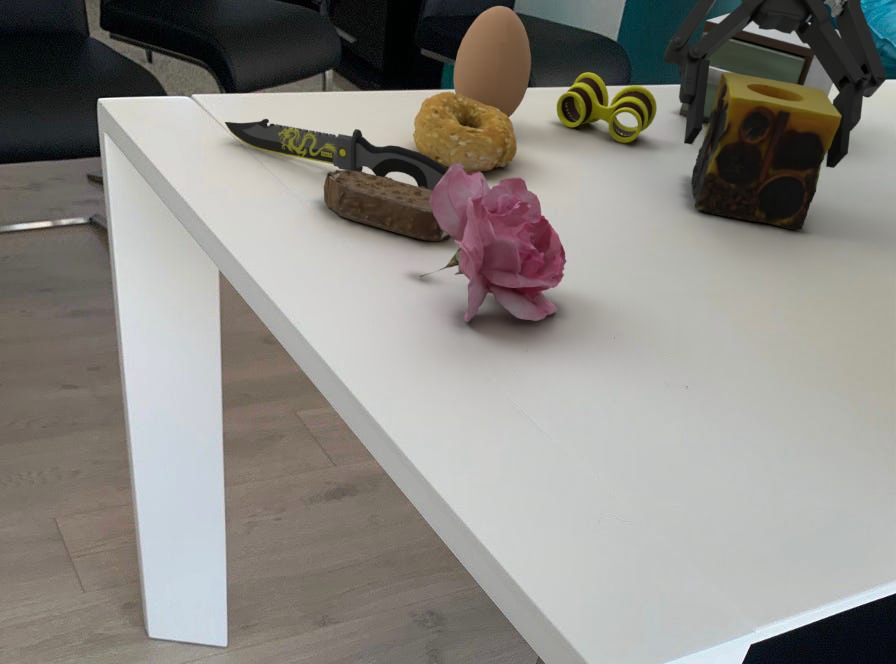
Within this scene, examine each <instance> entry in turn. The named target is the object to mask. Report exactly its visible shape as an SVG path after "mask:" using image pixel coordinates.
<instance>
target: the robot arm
mask: <svg viewBox="0 0 896 664" xmlns="http://www.w3.org/2000/svg"><path fill="white" fill-rule="evenodd" d="M716 1H717V0H697V1H696V3H695V4H694V5H693V7H692V8H691V10H690V11H689V12H688V14H687V16H686V17H685V19H684V20H683V21H682V22H681V24H680V26H679V28H678V29H677V30H676V32H675V33H674V34H673V36H672V37H671V40H670V41H669V43H668V45H667V48H666V49H665V52H664V53H663V56H662V58H663V59H662V60H663V61H664V62H665V63H666V64H669V65H672V64H675V65H677V66H678V67H679V68H678V75H679V77H680V84H679V92H678V93H679V94H678V99H679V102H680V104H682V103H685V104H689V105H688V114H687V116H686V122H685V123H686V125H685V132H684V140H683V143H684V144H686V145H693V144H694V142H695V141H696V140H697V138H698V136H699V134H700V133H701V131H702V129H703V124H704V121H703V115H704V107H705V98H706V90H707V81H708V73H709V64H710V60H707V59H708V58H709V57H710V56H711V55H712V54H713V53H715V52H716V51H717V50H718V49H719V48H720V47H722V46H723V45H724V44H725V43H726V42H727V41H728V40H730V39H731V38H732V37H733V36H734V35H735V34H737V33H738V32H741V31H742V30H743V29H744V28H745V27H746V26H748V25H749V24H750V23H751V22H752V21H753V22H754V23H755V24H757V25H759V28H758V29H764V30H771V29H775V30H778V31H780V32H782V33H787V34H791V33H792V31H795V32H796V34H797V35H798V37H799V39H800V40H801V42H802V43H804V44H808V45H809V47H810V48H811V50H812V51H813V53H814V55H815V56H816V58H817V59H818V61H819V62H820V64H821V65H822V67H823V68H824V70H825V71H826V73H827V74H828V76H829V77H830V79H831V81H832V82H833V84H832V85H834V86H835V88H836V90H837V91H838V94H837V95H836V96H834V99H833V100H832V104H833V105H834V107H835V108H836V109H837V110H838V112H839V113H840V114H841V116H842V117H841V120H840V124H839V127H838V129H837V131H836V133H835V135H834V138H833V141H832V144H831V146H830V148H829V150H828V151H827V153H826V162H825V163H826V164H825V167H826V168H831V169H834V168H835V167H836V166H837V165H838V164H840V162H841V161H842V160H843V159H844V158H845V157H846V156H847V155H848V154H849V145H850V137H851V132H852V131H853V130H854V129H855V128H856V127H857V125H859V122H860V121H861V119H862V112H863V111H862V110H863V102H864V101H863V100H864V98H871V97H873V96H874V94H875V92H877V91H878V90H879V88H880V87H881V86H882V85H883V84H884V83H885V81H886V80H887V79H888V77H887V73H886V72H887V71H886V69H885V67H884V65H883V62H882V59H881V55H880V54H879V53H880V52H879V51H878V48H877V45H876V43H875V40H874V37H873V34H872V32H871V29H870V27H869V24H868V21H867V18H866V16H865V12H864V11H863V7H862V5H861V4H862V0H740V1H741V3H740V4H739V5H738V6H737V7H736V8H735V9H733V11H731V12H730V14H729V13H728V14H729V15H728V16H727V17H726V18H724V19H723V20H722V21H721V22H720V23H719V24H717V25H716V26H715V27H714V28H713V29H712V30H711V31H709V32H708V33H707V34H706V35H705V36H704V37H702V38H701V37H700V39H699V40H697V42H695V43H694V44H692V45H691V44H688V43H689V42H690V40H691V39H692V37H693V36H694V34H695V33H696V31H697V30H698V29H699V27H700V26H701V24H702V22H703V21H704V20H705V19H706V18H707V15H708V14H709V13H710V11H711V10H712V8H713V7H714V5H715V3H716ZM824 4H825V5H824ZM826 5H828V7H830V11H831V12H830V11H829V10H828V9H827V7H826ZM831 17H832V18H835V22H836V24H835V25H836V28H837V29H836V30H838V31H839V34H840V36H839V35H838V33H837V31H836V30H835V26H834V25H833V23H832V22H831ZM811 18H812V21H811V22H810V23H811V24H810V25H809V24H808V22H809V21H810V20H811ZM840 37H841V38H840Z"/></svg>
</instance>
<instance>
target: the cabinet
mask: <svg viewBox="0 0 896 664" xmlns="http://www.w3.org/2000/svg"><path fill="white" fill-rule="evenodd" d="M730 13H731V12H730ZM730 13H727V14H723V15H720V16H717V17H713V18H710V19H707V20H705V22H704V26H703V29H702V33H701V37H700V39H701V38H702V35H703V33H705V32H709V31H711V30H712V29H713V28H714V27H715V26H716V25H717V24H719V23H720V22H721V21H722V20H723V19H724V18H726V17H727V16H728V15H729V14H730ZM807 22H808V24H809V25H810V24H811V23H812V22H809V21H807ZM758 28H759V25H757V24H755V23H754V22H753V21H752V22H751V23H750V24H749V25H748V26H746V27H745V28H744V29H743V30H742V31H741V32H738V33H737V34H735V35H734V36H733V37H734V38H738V39H741V40H745V41H749V42H752V43H756V44H760V45H763V46H767V47H771V48H774V49H778V50H782V51H785V52H789V53H793V54H796V55H800V56H804V57H805V58H804V59H805V63H804V66H803V68H802V71H801V74H800V77H799V80H798V83H797V85H802V86H807V87H811V88H816V89H821V90H823V91H824V92H825V93H826V95H827V96H828V97H829V95H830V92H831V90H832V87H833V85H834V84H833V82H832V81H831V79H830V77H829V76H828V74H827V73H826V71H825V70H824V68H823V67H822V65H821V64H820V62H819V61H818V59H817V58H816V56H815V55H814V53H813V51H812V50H811V48H810V47H809V45H808V44H804V43H802V42H801V40H800V39H799V37H798V35H797V34H796V32H795V31H792V33H791V34H787V33H782V32H780V31H778V30H775V29H771V30H764V29H758ZM835 30H836V31H837V33H838V35H839V36H840V34H839V31H838V29H835ZM840 38H841V37H840ZM682 105H683V103H681V106H680V109H679V113H678V114H679V115H680V116H681V115H682V116H686V117H687V114H688V111H687V110H683V109H682ZM709 120H710V117H706V116H703V123H707V124H708V123H709Z"/></svg>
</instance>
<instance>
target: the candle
mask: <svg viewBox="0 0 896 664" xmlns="http://www.w3.org/2000/svg"><path fill="white" fill-rule="evenodd" d="M841 117H842V116H841V114H840V113H839V112H838V110H837V109H836V108H835V107H834V105H833V102H832V101H831V100H830V98H829V95H828V96H827V95H826V93H825V92H824V91H823V90H821V89H816V88H811V87H807V86H802V85H797V84H793V83H787V82H781V81H776V80H770V79H764V78H759V77H753V76H747V75H742V74H736V73H731V72H722V75H721V78H720V82H719V85H718V89H717V92H716V96H715V100H714V103H713V107H712V111H711V114H710V120H709V123H708V122H707V125H706V130H705V133H704V137H703V140H702V143H701V146H700V148H699V149H698V154H697V156H696V158H695V161H696V162H695V165H694V166H693V169H692V175H691V182H690V184H691V187H692V194H693V197H694V207H695V208H696V209H697V210H699V211H701V212H703V213H706V214H709V215H715V216H716V215H717V216H722V217H726V218H732V219H738V220H742V221H749V222H756V223H765V224H769V225H773V226H777V227H781V228H784V229H785V228H786V229H788V230H793V231H800V230H803V226H804V225H805V221H806V219H807V216H808V211H809V209H810V206H811V204H812V202H813V200H814V197H815V195H816V192H817V185H818V182H819V177H820V171H821V169H822V168H821V167H822V163H823V162H824V160H825V156H826V155H827V153H828V150H829V148H830V146H831V144H832V141H833V138H834V135H835V133H836V131H837V129H838V127H839V124H840V120H841Z"/></svg>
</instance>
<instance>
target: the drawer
mask: <svg viewBox="0 0 896 664" xmlns="http://www.w3.org/2000/svg"><path fill="white" fill-rule="evenodd" d="M707 33H708V32H705V33H703V35H702V34H701V36H702V37H704V36H705V35H706V34H707ZM804 58H805V57H804V56H800V55H796V54H793V53H789V52H785V51H782V50H778V49H774V48H771V47H767V46H763V45H760V44H756V43H752V42H749V41H745V40H741V39H738V38H734V37H732V38H731V39H730V40H728V41H727V42H726V43H725V44H724V45H723V46H722V47H720V48H719V49H718V50H717V51H716V52H715V53H713V54H712V55H711V56H710V57H709V58H708V59H707V60H710V64H709V73H708V81H707V90H706V98H705V107H704V115H703V116H706V117H710V114H711V111H712V107H713V103H714V100H715V96H716V92H717V89H718V85H719V82H720V78H721V75H722V72H731V73H736V74H742V75H747V76H753V77H759V78H764V79H770V80H776V81H781V82H787V83H793V84H797V83H798V80H799V77H800V74H801V71H802V68H803V66H804V63H805V59H804ZM688 105H689V104H685V103H683V105H682V104H681V106H682V109H683V110H687V111H688Z"/></svg>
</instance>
